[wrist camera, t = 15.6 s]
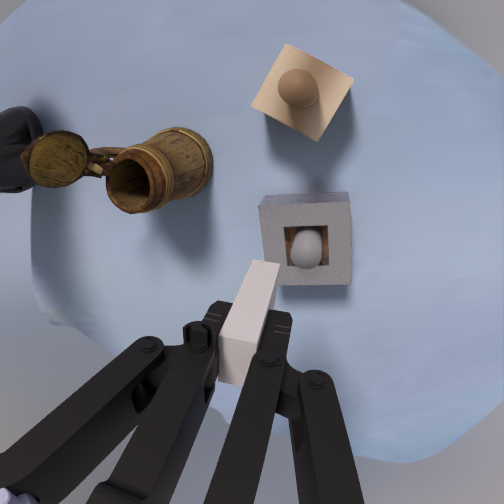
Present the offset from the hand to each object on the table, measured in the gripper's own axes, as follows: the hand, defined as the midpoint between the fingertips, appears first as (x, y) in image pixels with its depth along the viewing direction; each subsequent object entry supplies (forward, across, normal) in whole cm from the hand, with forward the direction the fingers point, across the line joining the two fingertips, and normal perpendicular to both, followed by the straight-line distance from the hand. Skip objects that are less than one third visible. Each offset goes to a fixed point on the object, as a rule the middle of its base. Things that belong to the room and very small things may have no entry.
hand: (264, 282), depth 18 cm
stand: (+21, 0, +11) cm, 23 cm away
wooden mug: (+21, -16, +3) cm, 27 cm away
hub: (+21, +2, -4) cm, 21 cm away
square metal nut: (+19, +2, -4) cm, 19 cm away
